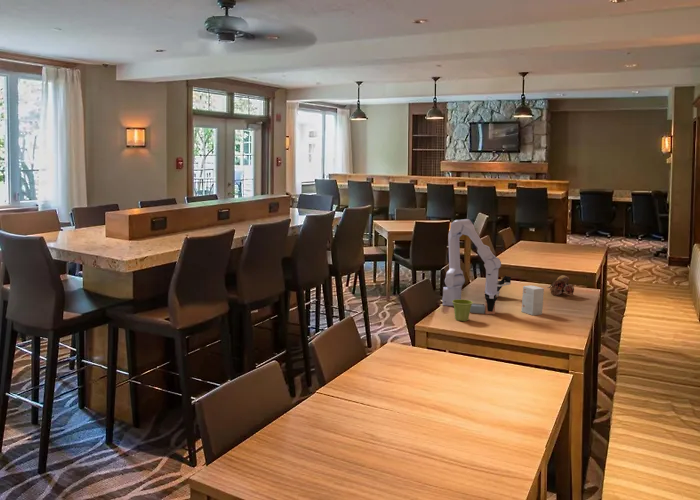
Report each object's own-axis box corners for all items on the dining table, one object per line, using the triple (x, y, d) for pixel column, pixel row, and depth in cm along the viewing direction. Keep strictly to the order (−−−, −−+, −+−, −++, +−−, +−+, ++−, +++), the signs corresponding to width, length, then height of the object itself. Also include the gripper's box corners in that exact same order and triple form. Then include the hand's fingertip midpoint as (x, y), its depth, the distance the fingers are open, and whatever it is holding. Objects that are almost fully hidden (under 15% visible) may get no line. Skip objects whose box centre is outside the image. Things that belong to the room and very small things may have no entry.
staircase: (484, 298, 333) (486, 276, 331) (495, 296, 339) (497, 274, 338) (498, 301, 326) (499, 279, 324) (509, 299, 333) (511, 276, 331)
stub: (485, 313, 299) (485, 303, 298) (484, 311, 303) (485, 301, 303) (494, 314, 298) (495, 304, 297) (494, 311, 303) (494, 301, 302)
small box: (542, 314, 300) (544, 288, 298) (532, 315, 297) (534, 289, 295) (530, 310, 307) (532, 285, 305) (520, 311, 304) (522, 285, 302)
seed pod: (541, 284, 338) (569, 279, 332) (543, 273, 352) (569, 267, 346) (547, 305, 341) (575, 300, 335) (549, 293, 355) (575, 288, 349)
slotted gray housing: (467, 312, 300) (468, 305, 299) (467, 309, 305) (467, 303, 304) (484, 313, 299) (484, 306, 298) (484, 311, 303) (484, 304, 303)
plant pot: (459, 323, 280) (460, 304, 279) (447, 318, 288) (448, 300, 287) (475, 321, 284) (477, 302, 283) (463, 316, 293) (464, 298, 291)
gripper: (501, 286, 291) (499, 314, 293) (499, 280, 305) (497, 306, 307) (485, 285, 292) (484, 313, 294) (484, 279, 306) (482, 305, 308)
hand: (489, 309), depth 300 cm, fingers closed on stub, 5 cm apart
